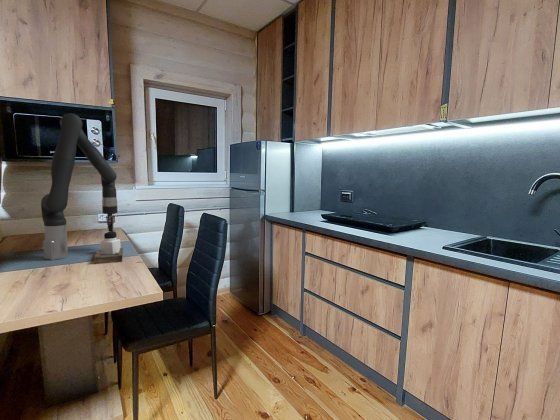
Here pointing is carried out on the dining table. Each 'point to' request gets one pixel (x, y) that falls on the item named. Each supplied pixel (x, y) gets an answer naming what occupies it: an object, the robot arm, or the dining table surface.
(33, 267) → the dining table surface
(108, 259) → the u rest
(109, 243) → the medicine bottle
